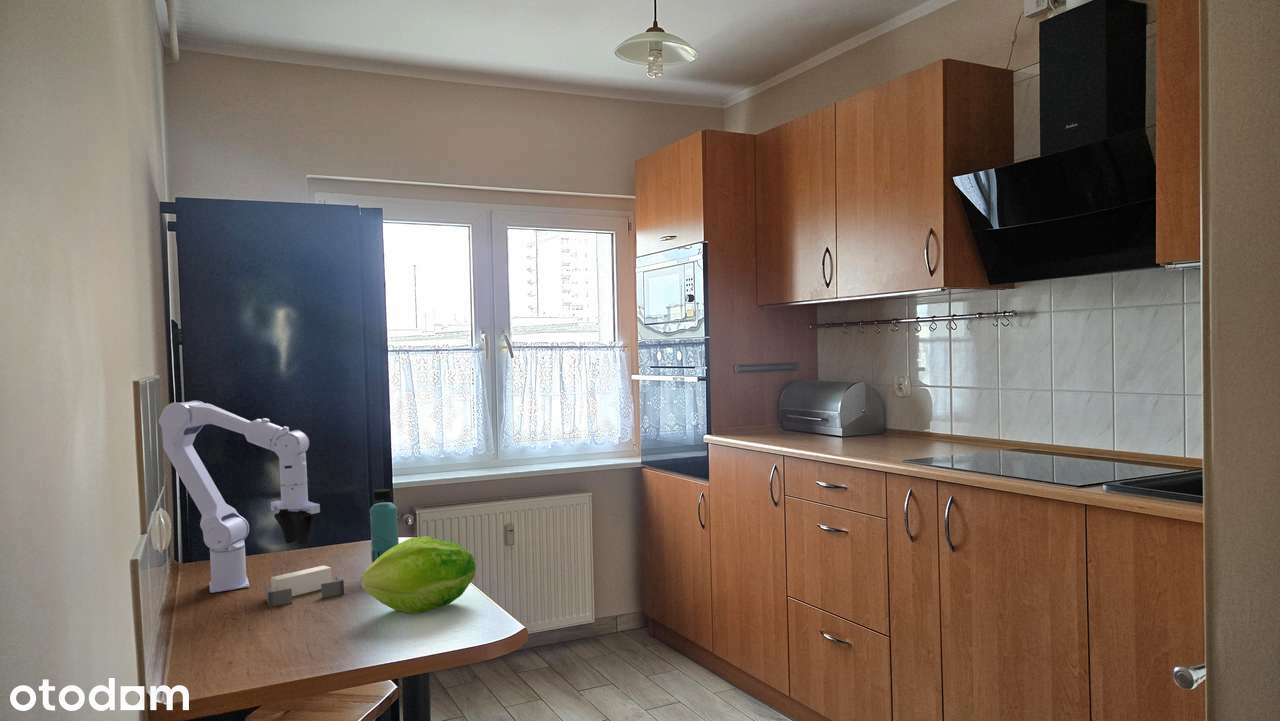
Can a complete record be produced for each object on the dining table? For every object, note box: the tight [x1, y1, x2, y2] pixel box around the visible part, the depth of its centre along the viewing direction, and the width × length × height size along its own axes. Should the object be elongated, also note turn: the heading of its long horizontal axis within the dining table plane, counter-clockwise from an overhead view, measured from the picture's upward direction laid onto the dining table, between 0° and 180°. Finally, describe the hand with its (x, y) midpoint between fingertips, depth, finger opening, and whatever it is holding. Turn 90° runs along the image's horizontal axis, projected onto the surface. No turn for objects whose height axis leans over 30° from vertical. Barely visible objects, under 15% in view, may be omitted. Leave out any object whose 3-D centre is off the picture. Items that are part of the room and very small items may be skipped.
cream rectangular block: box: [270, 564, 333, 597], centre depth 184 cm, size 4×12×4 cm, turn 137°
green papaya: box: [360, 535, 477, 614], centre depth 167 cm, size 15×23×16 cm
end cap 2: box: [320, 574, 345, 599], centre depth 182 cm, size 6×4×3 cm
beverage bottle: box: [369, 488, 400, 564], centre depth 197 cm, size 6×7×20 cm
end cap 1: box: [265, 585, 293, 608], centre depth 177 cm, size 6×4×3 cm
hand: (296, 543), depth 191 cm, fingers open, 3 cm apart
